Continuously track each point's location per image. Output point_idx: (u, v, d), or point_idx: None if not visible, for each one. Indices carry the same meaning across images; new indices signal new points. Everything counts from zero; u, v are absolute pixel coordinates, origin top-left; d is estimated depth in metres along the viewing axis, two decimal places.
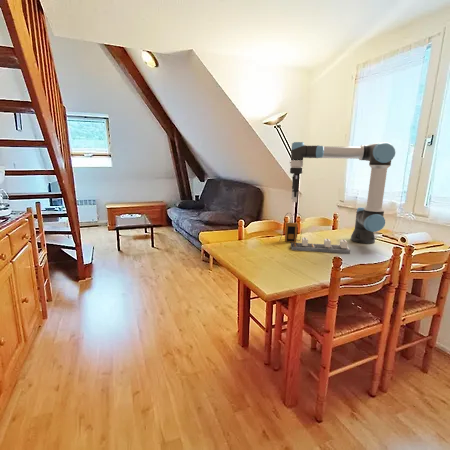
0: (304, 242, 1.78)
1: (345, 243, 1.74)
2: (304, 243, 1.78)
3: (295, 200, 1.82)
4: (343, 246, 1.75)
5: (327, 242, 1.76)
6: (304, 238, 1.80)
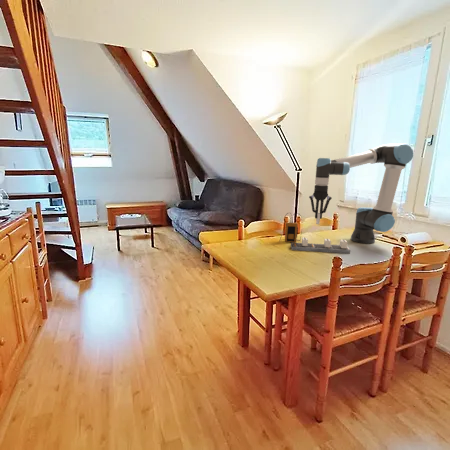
0: (304, 242, 1.78)
1: (345, 243, 1.74)
2: (304, 243, 1.78)
3: (316, 222, 1.76)
4: (343, 246, 1.75)
5: (327, 242, 1.76)
6: (304, 238, 1.80)
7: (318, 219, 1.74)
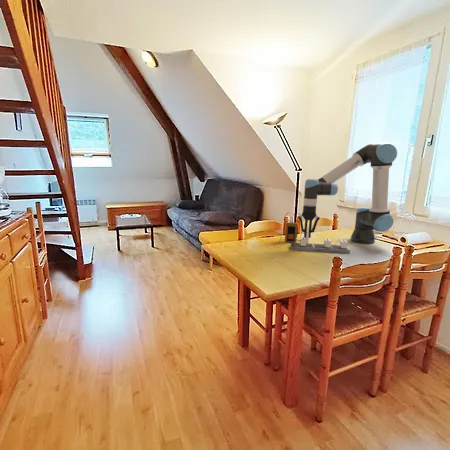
0: (302, 242, 1.78)
1: (345, 243, 1.74)
2: (302, 243, 1.78)
3: None
4: (343, 246, 1.75)
5: (327, 242, 1.76)
6: (302, 238, 1.80)
7: (307, 238, 1.78)
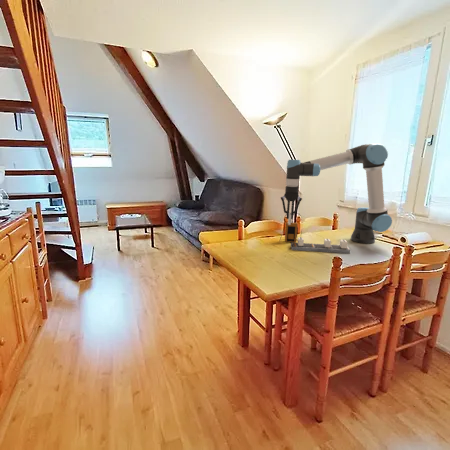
0: (300, 242, 1.78)
1: (345, 243, 1.74)
2: (300, 243, 1.78)
3: (288, 222, 1.79)
4: (343, 246, 1.75)
5: (327, 242, 1.76)
6: (300, 238, 1.80)
7: (289, 220, 1.77)
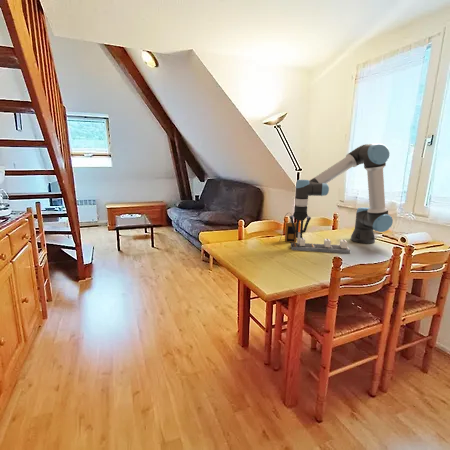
0: (301, 242, 1.78)
1: (345, 243, 1.74)
2: (301, 243, 1.78)
3: (297, 241, 1.81)
4: (343, 246, 1.75)
5: (327, 242, 1.76)
6: (301, 238, 1.80)
7: (298, 238, 1.79)
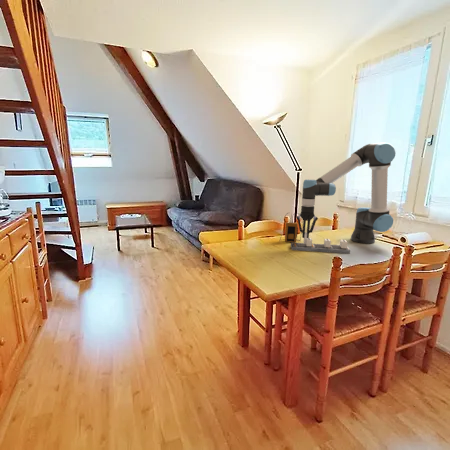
0: (308, 242, 1.77)
1: (345, 243, 1.74)
2: (308, 243, 1.78)
3: None
4: (343, 246, 1.75)
5: (327, 242, 1.76)
6: (308, 238, 1.79)
7: (305, 239, 1.78)
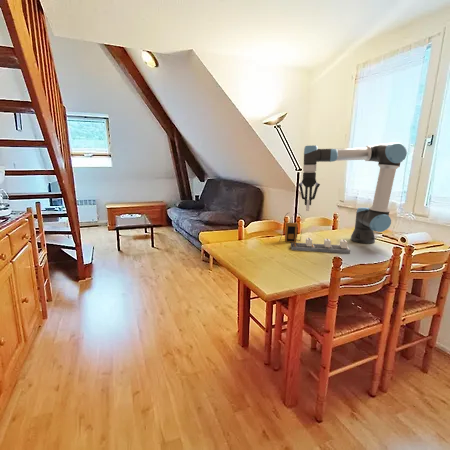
0: (308, 242, 1.77)
1: (345, 243, 1.74)
2: (308, 243, 1.78)
3: (306, 208, 1.80)
4: (343, 246, 1.75)
5: (327, 242, 1.76)
6: (308, 238, 1.79)
7: (308, 206, 1.78)
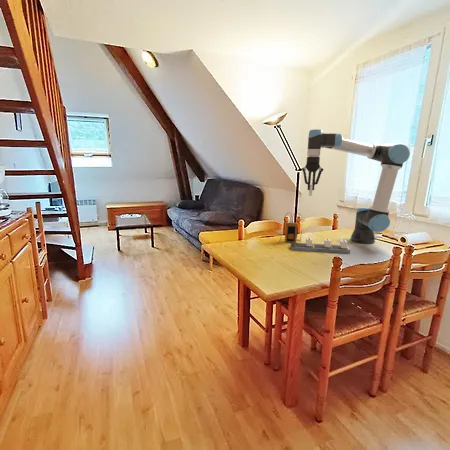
0: (308, 242, 1.77)
1: (345, 243, 1.74)
2: (308, 243, 1.78)
3: (309, 193, 1.80)
4: (343, 246, 1.75)
5: (327, 242, 1.76)
6: (308, 238, 1.79)
7: (310, 190, 1.78)
